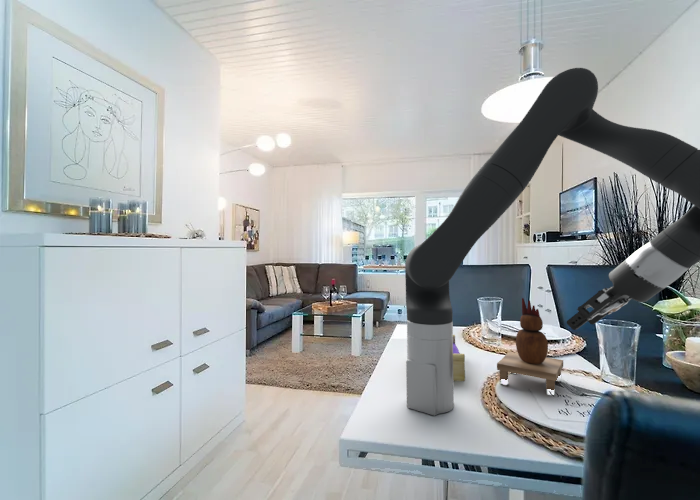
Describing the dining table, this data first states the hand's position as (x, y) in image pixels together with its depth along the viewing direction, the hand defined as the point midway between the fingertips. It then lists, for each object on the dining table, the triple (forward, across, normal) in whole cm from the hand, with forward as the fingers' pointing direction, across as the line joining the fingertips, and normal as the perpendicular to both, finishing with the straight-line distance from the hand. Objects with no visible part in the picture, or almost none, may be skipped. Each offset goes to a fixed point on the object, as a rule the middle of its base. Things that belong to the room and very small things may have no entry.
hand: (579, 323), depth 73 cm
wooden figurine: (+15, 0, 0) cm, 15 cm away
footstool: (+19, 0, +4) cm, 19 cm away
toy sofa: (+33, +8, -10) cm, 35 cm away
